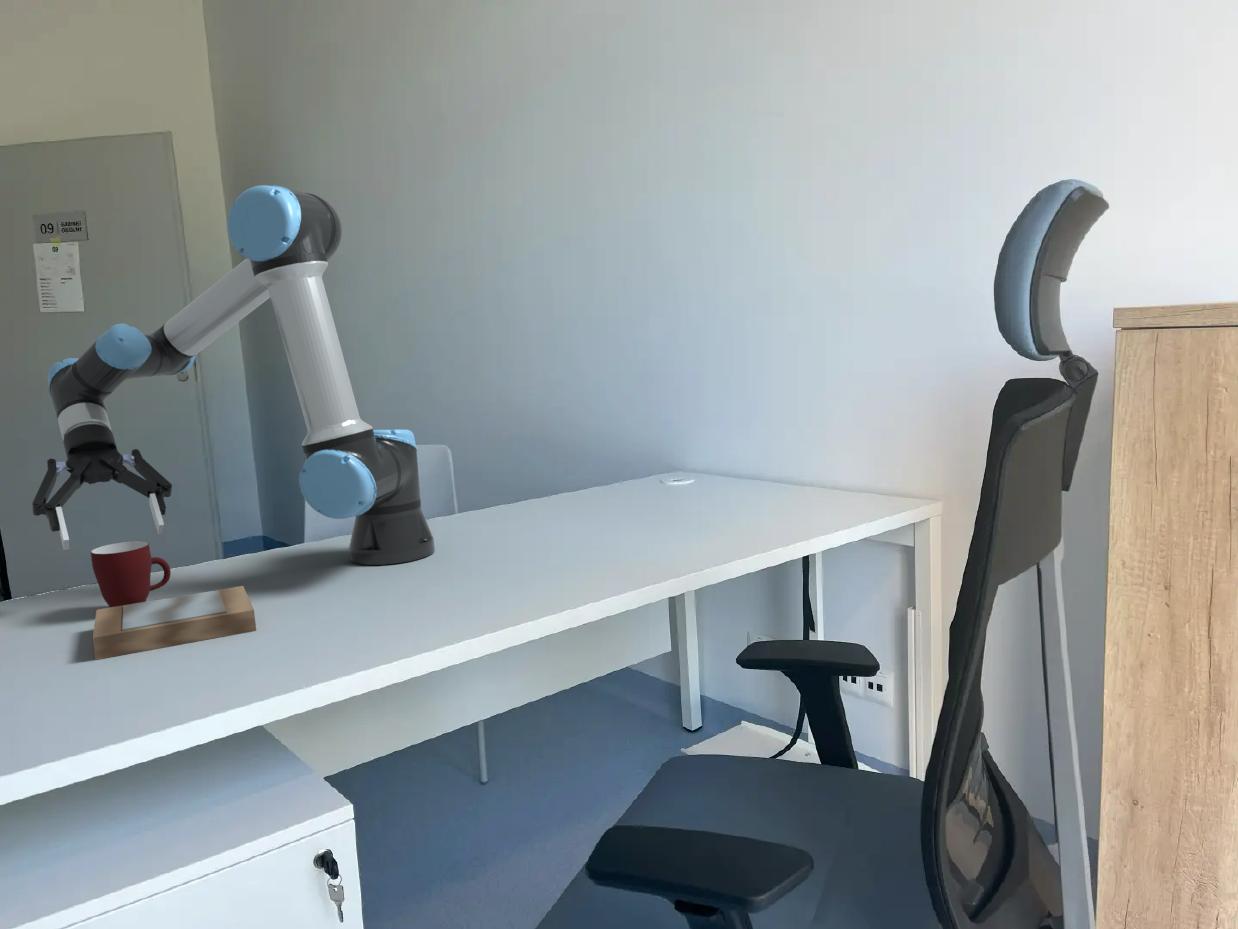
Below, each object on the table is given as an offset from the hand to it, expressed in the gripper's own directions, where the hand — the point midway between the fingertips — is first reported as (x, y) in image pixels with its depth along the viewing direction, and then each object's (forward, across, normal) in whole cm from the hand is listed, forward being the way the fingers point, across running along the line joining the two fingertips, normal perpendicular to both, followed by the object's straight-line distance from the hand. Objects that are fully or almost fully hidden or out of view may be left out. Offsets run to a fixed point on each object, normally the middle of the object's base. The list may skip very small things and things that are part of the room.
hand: (115, 537), depth 153 cm
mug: (+12, -1, -3) cm, 12 cm away
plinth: (+24, -3, +9) cm, 26 cm away
